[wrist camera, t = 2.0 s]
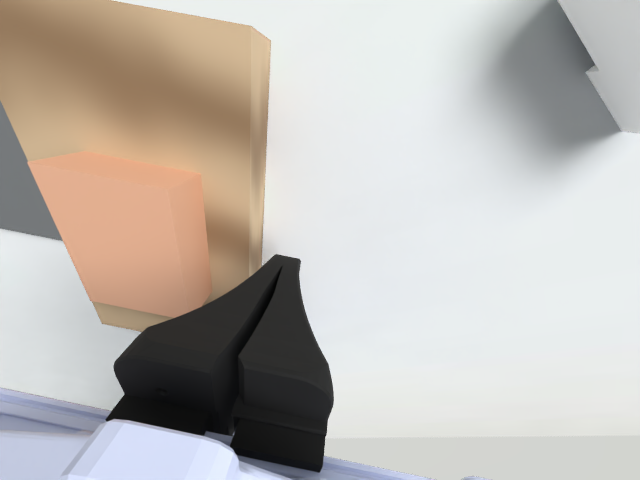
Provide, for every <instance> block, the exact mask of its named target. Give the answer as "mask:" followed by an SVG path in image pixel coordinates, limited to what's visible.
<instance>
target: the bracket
mask: <svg viewBox="0 0 640 480" xmlns="http://www.w3.org/2000/svg"><path fill="white" fill-rule="evenodd" d="M558 2H559V4H560V5H561V7H562V9H563V10H564V12H565V14H566V15H567V17H568V19H569V21H570V22H571V24H572V26H573V27H574V29H575V31H576V32H577V34H578V36H579V37H580V39H581V41H582V43H583V44H584V46H585V48H586V49H587V51H588V53H589V54H590V56H591V58H592V59H593V61H594V63H595V65H594V66H593V67H592V68H590V69H589V70H588V71H587V72H586V74H587V76H588V77H589V79H590V81H591V82H592V84H593V85H594V87H595V89H596V90H597V92H598V94H599V95H600V97H601V99H602V100H603V102H604V103H605V105H606V107H607V108H608V110H609V112H610V113H611V115H612V116H613V118H614V120H615V121H616V123H617V125H618V126H619V128H620V129H621V131H623V132H632V133H640V0H558Z"/></svg>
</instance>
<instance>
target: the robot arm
mask: <svg viewBox="0 0 640 480" xmlns="http://www.w3.org/2000/svg"><path fill="white" fill-rule="evenodd" d="M300 263H301V261H300V259H297V258H292V257H287V256H282V255H277V254H276V255H274V256H273V257H272V258H271V259H270V260H269V261H268V262H267V263H266V264H265V265H263V266H262V267H261V268H260V269H259V270H258V271H256V272H255V273H254V274H253V275H252V276H250V277H249V278H248V279H246V280H245V281H244V282H242V283H241V284H239V285H238V286H237V287H235V288H234V289H232V290H231V291H229V292H227V293H226V294H224V295H222V296H221V297H219V298H217V299H215V300H213V301H212V302H210V303H208V304H206V305H204V306H202V307H200V308H197V309H195V310H193V311H191V312H188V313H186V314H183V315H181V316H178V317H176V318H173V319H170V320H167V321H164V322H161V323H158V324H155V325H153V326H149V327H147V328H146V329H145V330H144V331H143V332H142V333H141V334H140V335H139V336H138V337H137V338H136V339H135V340H134V341H133V342H132V343H131V344H130V345H129V347H128V348H127V349H126V350H125V351H124V352H123V353H122V354H121V356H120V357H119V358H118V359H117V360H116V361H115V363H114V372H115V375H116V377H117V379H118V381H119V383H120V385H121V387H122V389H123V391H124V393H125V395H124V396H123V397H122V399H121V400H120V401H119V402H118V404H117V405H116V406H115V408H114V409H113V410H112V411H109V410H104V409H99V408H95V407H90V406H85V405H80V404H76V403H71V402H66V401H61V400H57V399H52V398H47V397H43V396H38V395H33V394H28V393H24V392H19V391H14V390H9V389H5V388H0V480H435V479H431V478H426V477H421V476H416V475H412V474H407V473H402V472H397V471H392V470H388V469H383V468H379V467H374V466H369V465H364V464H360V463H355V462H350V461H345V460H341V459H336V458H331V457H326V456H324V446H325V436H326V433H327V422H328V418H329V415H330V413H331V410H332V407H333V402H334V395H333V385H332V379H331V374H330V370H329V365H328V363H327V361H326V359H325V357H324V355H323V354H322V352H321V350H320V348H319V346H318V343H317V341H316V339H315V337H314V334H313V332H312V329H311V327H310V324H309V322H308V319H307V316H306V312H305V309H304V305H303V301H302V296H301V290H300V281H299V270H300ZM461 480H490V479H485V478H481V477H474V476H469V477H465V478H463V479H461Z"/></svg>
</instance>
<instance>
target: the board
mask: <svg viewBox="0 0 640 480" xmlns="http://www.w3.org/2000/svg"><path fill="white" fill-rule="evenodd" d="M270 48H271V40H269V39H268V38H267V37H265V36H264V35H263V34H261V33H260V32H259V31H257V30H256V29H255V28H253V27H252V26H248V25H243V24H237V23H232V22H226V21H221V20H215V19H210V18H205V17H199V16H194V15H188V14H183V13H177V12H172V11H166V10H161V9H155V8H150V7H144V6H139V5H133V4H128V3H122V2H117V1H111V0H0V101H1V103H2V105H3V107H4V109H5V112H6V114H7V116H8V118H9V120H10V123H11V125H12V127H13V129H14V131H15V133H16V136H17V138H18V140H19V142H20V144H21V147H22V149H23V151H24V153H25V155H26V158H27V160H28V162H29V161H35V160H40V159H45V158H51V157H56V156H61V155H66V154H72V153H77V152H82V151H87V152H92V153H97V154H102V155H108V156H113V157H118V158H123V159H128V160H133V161H139V162H144V163H149V164H154V165H159V166H164V167H170V168H175V169H180V170H185V171H190V172H195V173H201V180H202V190H203V201H204V211H205V222H206V232H207V242H208V253H209V263H210V274H211V284H212V293H211V294H210V295H209V297H208V298H207V300H206V301H205V302H204V304H203V305H202V306H204V305H206V304H208V303H210V302H212V301H213V300H215V299H217V298H219V297H221V296H222V295H224V294H226V293H227V292H229V291H231V290H232V289H234V288H235V287H237V286H238V285H239V284H241V283H242V282H244V281H245V280H246V279H248V278H249V277H250V276H252V275H253V274H254V273H255V272H256V271H258V270H259V269H260V268H261V262H262V238H263V214H264V190H265V167H266V143H267V119H268V95H269V72H270ZM92 303H93V305H94V307H95V309H96V311H97V314H98V316H99V318H100V320H101V322H102V324H107V325H111V326H116V327H121V328H126V329H131V330H136V331H141V332H143V331H144V330H145V329H146V328H147V327H149V326H153V325H155V324H158V323H161V322H164V321H167V320H170V319H173V318H172V317H168V316H163V315H158V314H153V313H148V312H143V311H138V310H133V309H128V308H123V307H118V306H114V305H109V304H104V303H99V302H94V301H92ZM202 306H201V307H202Z"/></svg>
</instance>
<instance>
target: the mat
mask: <svg viewBox="0 0 640 480" xmlns="http://www.w3.org/2000/svg"><path fill="white" fill-rule="evenodd" d="M27 162H28V160H27V158H26V155H25V153H24V151H23V149H22V147H21V144H20V142H19V140H18V138H17V136H16V133H15V131H14V129H13V127H12V125H11V123H10V120H9V118H8V116H7V114H6V112H5V109H4V107H3V105H2V103H1V101H0V228H2V229H7V230H12V231H17V232H22V233H27V234H32V235H37V236H42V237H47V238H52V239H57V240H62V237H61V235H60V233H59V231H58V229H57V227H56V224H55V222H54V220H53V218H52V216H51V213H50V211H49V209H48V207H47V205H46V203H45V200H44V198H43V196H42V194H41V192H40V189H39V187H38V185H37V183H36V181H35V179H34V176H33V174H32V172H31V170H30V168H29V166H28V163H27ZM62 241H63V240H62Z"/></svg>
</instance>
